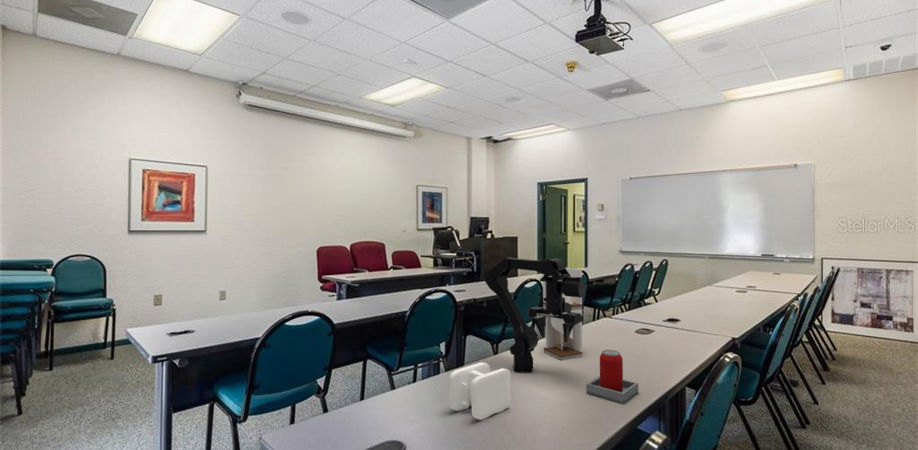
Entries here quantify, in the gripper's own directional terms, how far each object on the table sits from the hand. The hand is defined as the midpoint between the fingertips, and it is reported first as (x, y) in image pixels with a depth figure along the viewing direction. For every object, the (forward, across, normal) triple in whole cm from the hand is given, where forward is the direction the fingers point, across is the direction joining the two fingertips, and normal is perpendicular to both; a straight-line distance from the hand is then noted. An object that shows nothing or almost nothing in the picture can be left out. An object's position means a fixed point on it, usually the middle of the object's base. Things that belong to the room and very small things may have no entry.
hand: (554, 339), depth 144 cm
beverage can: (+12, -20, 0) cm, 24 cm away
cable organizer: (+13, +1, +38) cm, 40 cm away
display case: (+13, +12, -25) cm, 31 cm away
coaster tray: (+13, -20, -1) cm, 24 cm away
